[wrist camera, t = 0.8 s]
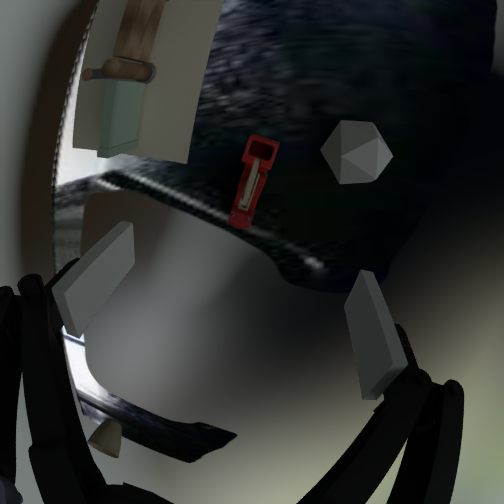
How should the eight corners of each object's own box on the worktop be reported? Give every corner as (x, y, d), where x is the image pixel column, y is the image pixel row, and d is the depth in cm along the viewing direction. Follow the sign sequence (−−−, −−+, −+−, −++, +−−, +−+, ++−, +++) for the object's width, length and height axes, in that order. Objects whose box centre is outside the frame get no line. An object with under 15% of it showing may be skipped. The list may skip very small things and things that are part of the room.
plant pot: (97, 409, 89) (84, 438, 75) (127, 423, 90) (116, 453, 76) (101, 421, 96) (90, 447, 82) (129, 433, 97) (119, 460, 84)
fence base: (162, -10, 24) (132, -32, 16) (176, -10, 24) (149, -35, 16) (137, 80, 32) (100, 77, 24) (151, 81, 32) (115, 76, 24)
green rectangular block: (137, 82, 32) (105, 80, 25) (147, 83, 32) (117, 80, 25) (128, 146, 37) (97, 156, 30) (138, 147, 37) (108, 158, 30)
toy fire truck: (230, 216, 42) (216, 246, 33) (256, 129, 35) (249, 134, 27) (251, 222, 42) (243, 254, 34) (279, 136, 35) (280, 144, 27)
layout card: (101, -2, 24) (100, -3, 24) (227, -11, 25) (227, -11, 24) (73, 147, 38) (72, 147, 37) (186, 163, 38) (186, 164, 38)
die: (306, 154, 37) (336, 205, 32) (321, 103, 29) (361, 151, 25) (354, 152, 38) (385, 199, 34) (373, 107, 31) (414, 153, 27)
